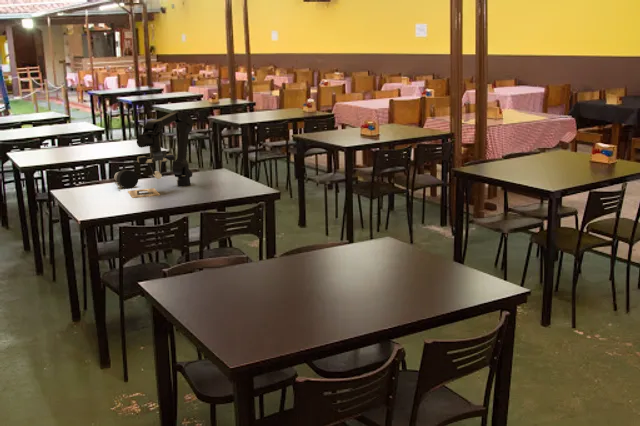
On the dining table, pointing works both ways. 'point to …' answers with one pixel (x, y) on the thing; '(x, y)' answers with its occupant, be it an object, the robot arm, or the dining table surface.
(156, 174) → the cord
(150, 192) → the board
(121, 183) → the black cylinder
